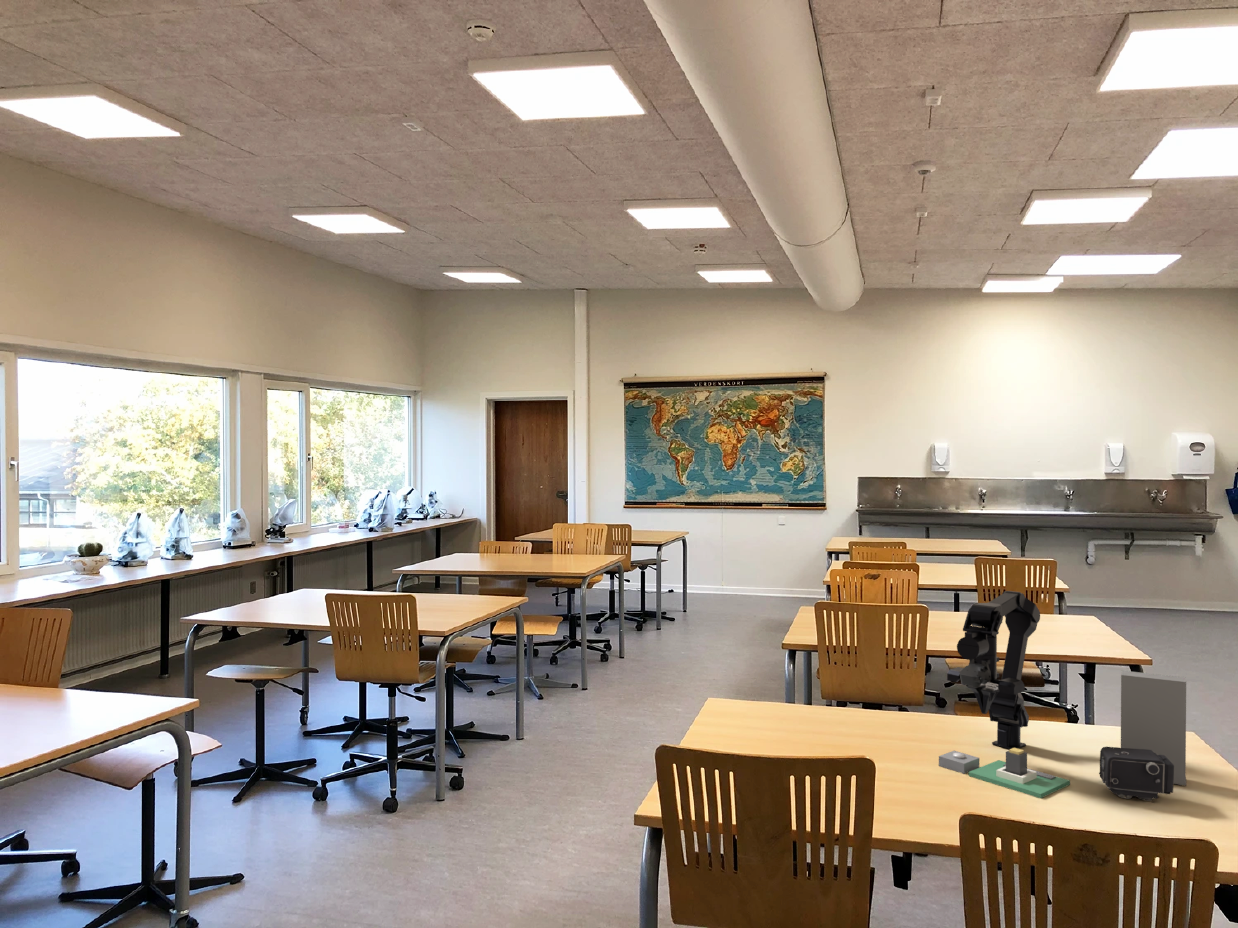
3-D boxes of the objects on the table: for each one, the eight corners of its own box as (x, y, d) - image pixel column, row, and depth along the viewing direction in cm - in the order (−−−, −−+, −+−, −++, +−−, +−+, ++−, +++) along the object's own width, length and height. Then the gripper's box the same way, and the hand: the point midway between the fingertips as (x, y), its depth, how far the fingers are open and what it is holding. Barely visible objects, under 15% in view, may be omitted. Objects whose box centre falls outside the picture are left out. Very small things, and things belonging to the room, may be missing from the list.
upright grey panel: (1185, 778, 217) (1186, 676, 217) (1186, 786, 212) (1187, 682, 212) (1120, 768, 224) (1121, 669, 224) (1119, 776, 219) (1120, 674, 219)
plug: (1013, 773, 218) (1013, 746, 218) (1027, 777, 215) (1027, 750, 215) (1005, 776, 216) (1005, 749, 216) (1019, 780, 213) (1019, 753, 213)
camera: (1110, 807, 202) (1181, 807, 199) (1105, 759, 202) (1176, 758, 199) (1097, 790, 212) (1166, 790, 209) (1093, 744, 212) (1161, 743, 209)
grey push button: (954, 759, 230) (954, 748, 230) (979, 767, 225) (979, 755, 225) (938, 765, 226) (938, 753, 226) (964, 773, 221) (964, 761, 221)
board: (998, 763, 228) (998, 753, 228) (1069, 784, 213) (1069, 774, 213) (968, 775, 219) (968, 765, 219) (1040, 798, 205) (1040, 787, 205)
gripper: (934, 651, 233) (934, 710, 233) (1002, 664, 218) (1002, 728, 218) (958, 645, 240) (958, 703, 240) (1025, 658, 225) (1025, 719, 225)
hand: (984, 713), depth 231 cm, fingers closed
